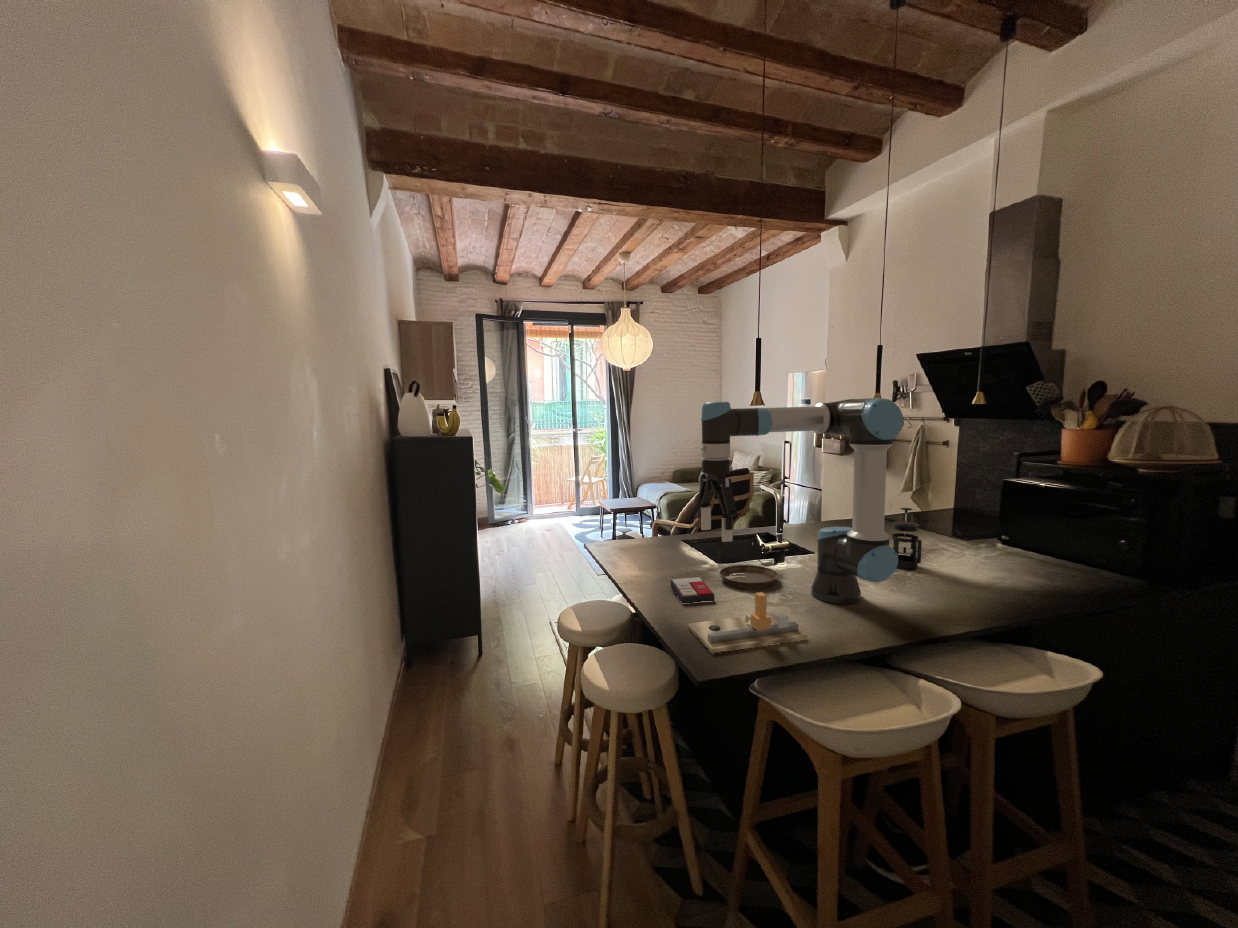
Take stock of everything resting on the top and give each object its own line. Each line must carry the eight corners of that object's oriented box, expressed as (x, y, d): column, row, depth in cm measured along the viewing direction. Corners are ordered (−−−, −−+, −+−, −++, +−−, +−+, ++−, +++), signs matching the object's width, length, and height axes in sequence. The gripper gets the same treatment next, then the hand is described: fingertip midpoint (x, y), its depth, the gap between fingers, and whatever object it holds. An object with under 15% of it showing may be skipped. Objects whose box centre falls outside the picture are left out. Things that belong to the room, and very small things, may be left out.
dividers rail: (780, 618, 146) (780, 601, 146) (799, 632, 137) (799, 614, 137) (697, 629, 140) (697, 612, 140) (711, 645, 131) (711, 626, 130)
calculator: (682, 595, 162) (670, 577, 176) (682, 607, 162) (670, 589, 177) (714, 592, 163) (700, 575, 178) (714, 605, 164) (700, 586, 179)
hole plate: (774, 616, 151) (775, 611, 151) (807, 640, 136) (807, 634, 135) (687, 628, 144) (687, 623, 144) (711, 654, 129) (711, 648, 129)
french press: (883, 563, 199) (885, 506, 196) (901, 560, 202) (903, 504, 199) (909, 572, 188) (912, 512, 185) (927, 569, 191) (930, 509, 188)
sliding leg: (752, 619, 144) (752, 583, 143) (770, 634, 135) (771, 595, 134) (739, 621, 143) (739, 585, 142) (757, 636, 134) (757, 597, 133)
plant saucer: (708, 576, 189) (708, 568, 189) (755, 569, 196) (755, 561, 196) (740, 595, 170) (740, 585, 169) (790, 586, 177) (790, 577, 177)
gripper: (685, 455, 148) (686, 526, 150) (723, 464, 124) (723, 548, 126) (709, 454, 149) (709, 524, 152) (751, 462, 125) (750, 545, 128)
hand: (716, 535), depth 139 cm, fingers open, 13 cm apart
